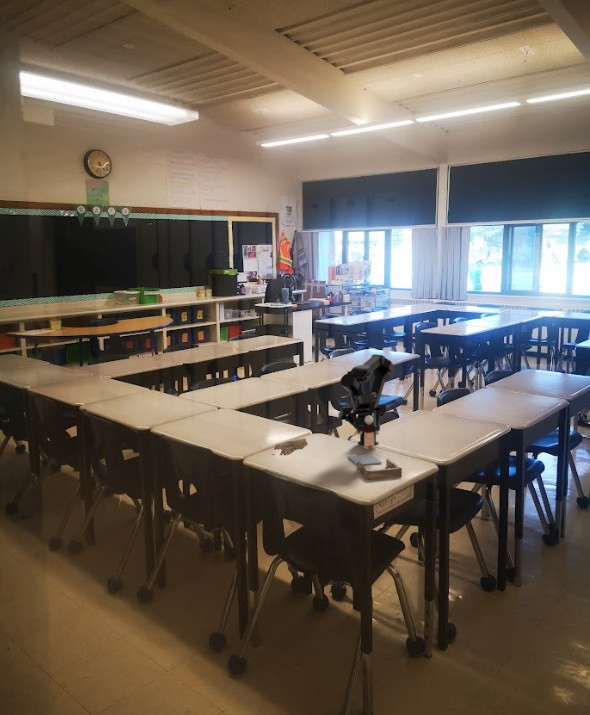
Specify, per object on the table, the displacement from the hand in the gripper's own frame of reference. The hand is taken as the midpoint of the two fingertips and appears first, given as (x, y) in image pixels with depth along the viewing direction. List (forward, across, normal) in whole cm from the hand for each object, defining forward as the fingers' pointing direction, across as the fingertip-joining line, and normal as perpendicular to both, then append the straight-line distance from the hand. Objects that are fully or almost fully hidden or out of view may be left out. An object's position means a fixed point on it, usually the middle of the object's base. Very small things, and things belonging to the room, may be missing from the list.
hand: (368, 431), depth 229 cm
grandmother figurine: (+5, 0, +5) cm, 7 cm away
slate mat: (+7, 0, +11) cm, 13 cm away
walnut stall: (+17, 0, +1) cm, 17 cm away
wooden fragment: (-10, -23, +29) cm, 38 cm away
